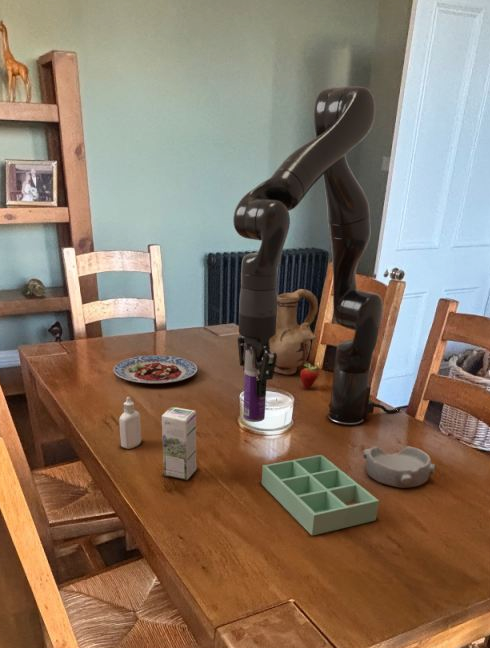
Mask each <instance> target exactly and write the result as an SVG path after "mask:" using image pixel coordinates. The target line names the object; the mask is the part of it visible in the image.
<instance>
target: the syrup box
mask: <svg viewBox="0 0 490 648" xmlns="http://www.w3.org/2000/svg"><path fill="white" fill-rule="evenodd" d="M161 432H162V433H161V434H162V435H161V436H162V457H163V459H162V460H163V475H164V477H168V478H176V479H180V480H184V481H188V480H189V479H190V478H191V477H192V475H193V474H194V473H195V472H196V471H197V467H198V466H197V411H196V410H194V409H187V408H181V407H175V406H171V407H170V408H168V409H167V410H165V412H164V413H163V414H162V415H161Z"/></svg>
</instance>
